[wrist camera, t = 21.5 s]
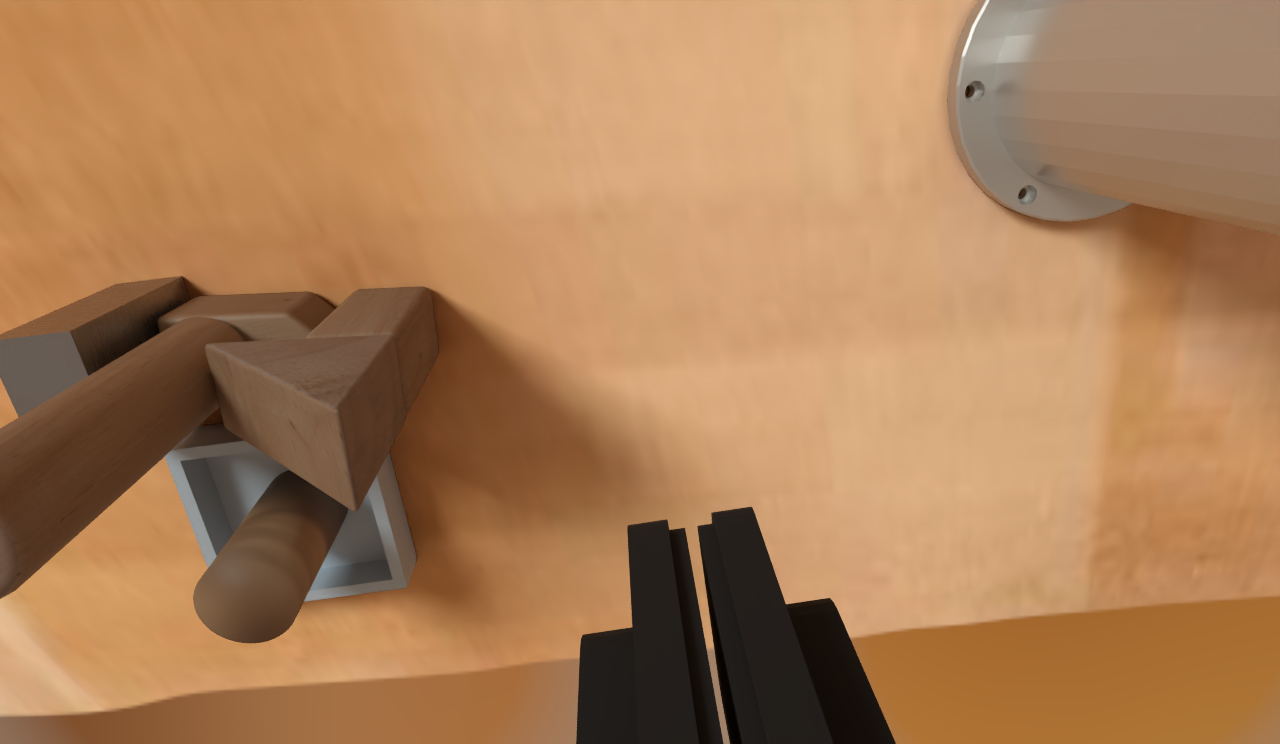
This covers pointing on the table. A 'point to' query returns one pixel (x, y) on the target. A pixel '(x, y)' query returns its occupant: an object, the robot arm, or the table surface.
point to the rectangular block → (82, 338)
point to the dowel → (269, 562)
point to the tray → (240, 473)
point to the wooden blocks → (237, 383)
